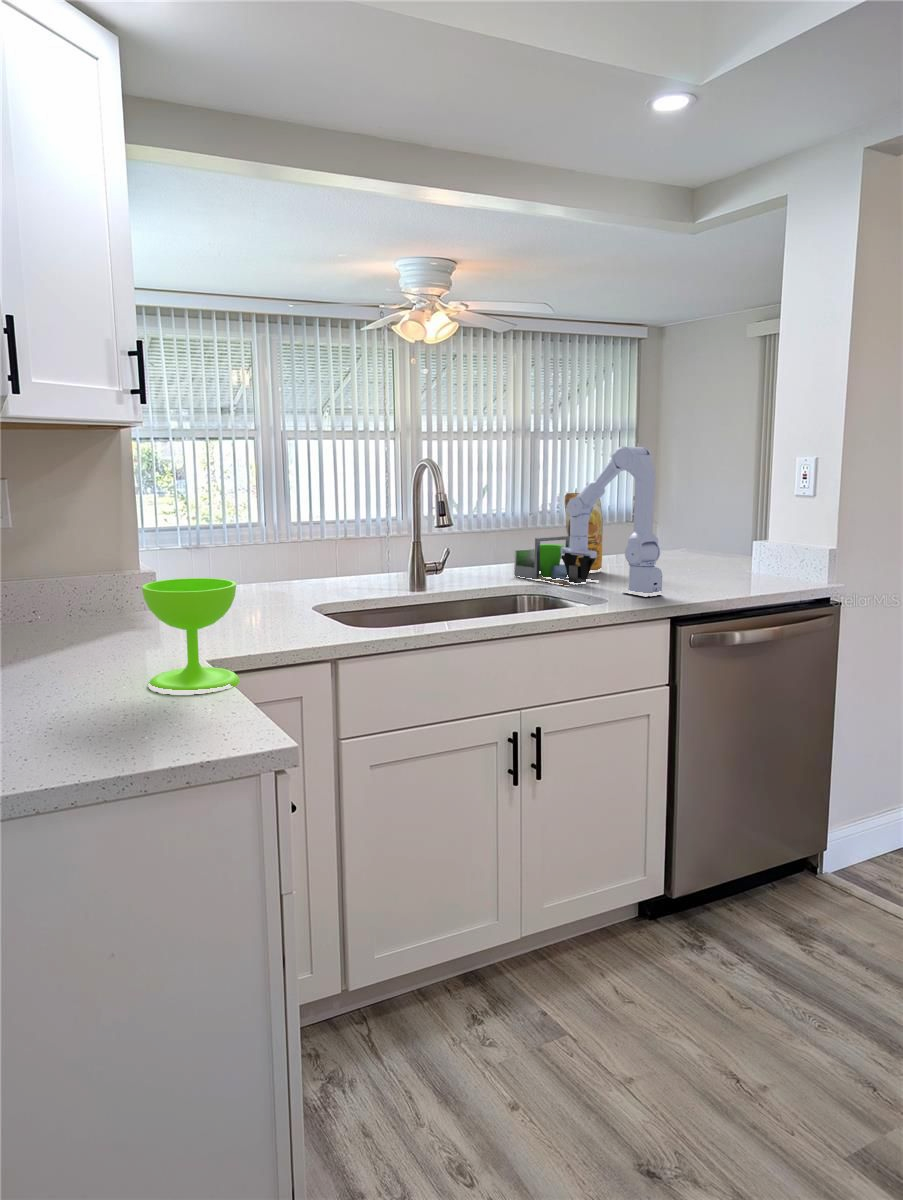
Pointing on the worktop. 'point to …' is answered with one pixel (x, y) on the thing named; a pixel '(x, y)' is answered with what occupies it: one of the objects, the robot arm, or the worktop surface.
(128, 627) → the worktop surface
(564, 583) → the lane rails
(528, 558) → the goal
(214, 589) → the wineglass
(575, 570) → the blue and gray block
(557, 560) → the cup
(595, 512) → the pancake mix bag
